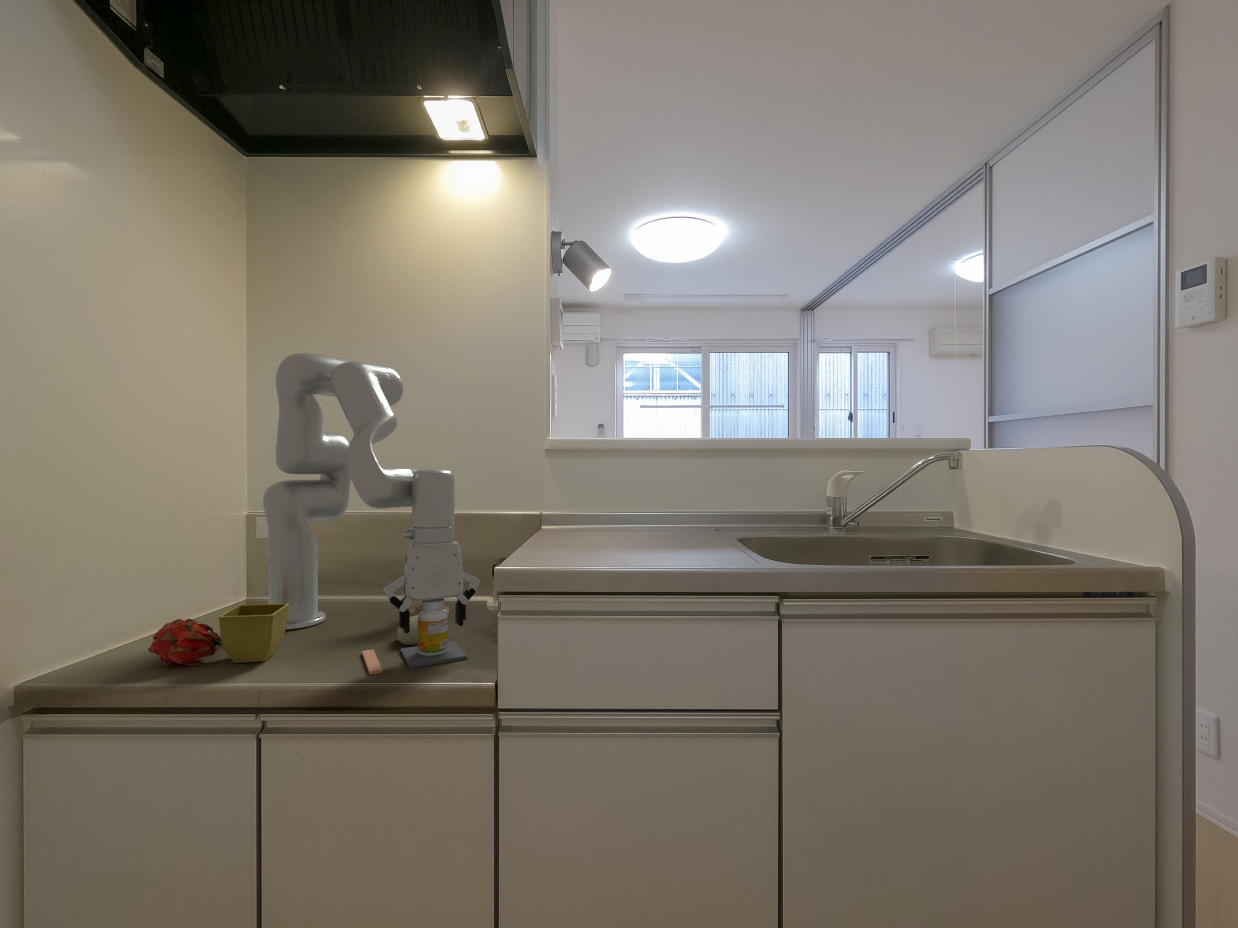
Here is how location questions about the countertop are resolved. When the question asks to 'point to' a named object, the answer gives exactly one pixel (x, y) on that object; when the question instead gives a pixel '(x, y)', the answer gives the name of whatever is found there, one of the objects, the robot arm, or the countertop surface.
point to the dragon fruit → (184, 642)
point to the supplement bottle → (433, 628)
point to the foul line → (371, 662)
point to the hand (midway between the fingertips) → (433, 627)
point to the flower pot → (253, 631)
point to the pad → (420, 660)
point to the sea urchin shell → (409, 637)
